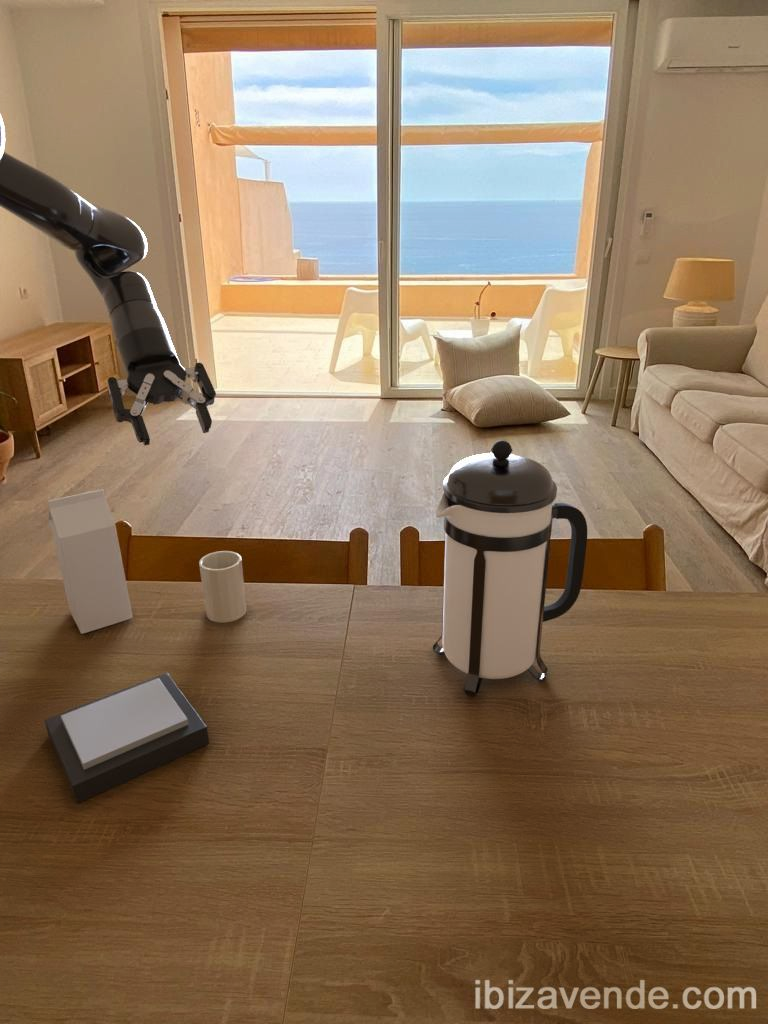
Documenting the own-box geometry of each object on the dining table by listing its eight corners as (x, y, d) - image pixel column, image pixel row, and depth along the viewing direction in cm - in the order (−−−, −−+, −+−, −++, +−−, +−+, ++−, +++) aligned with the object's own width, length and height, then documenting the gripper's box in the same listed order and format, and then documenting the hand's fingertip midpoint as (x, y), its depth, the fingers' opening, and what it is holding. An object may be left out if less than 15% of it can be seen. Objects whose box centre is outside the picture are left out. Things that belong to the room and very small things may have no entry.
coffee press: (533, 719, 79) (557, 475, 67) (410, 677, 87) (411, 449, 74) (575, 643, 93) (602, 428, 81) (466, 612, 100) (475, 410, 88)
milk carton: (133, 619, 100) (110, 497, 92) (81, 635, 96) (53, 510, 88) (119, 598, 105) (97, 481, 97) (70, 612, 101) (42, 492, 94)
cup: (216, 627, 97) (209, 574, 94) (199, 609, 102) (192, 558, 98) (253, 613, 101) (248, 562, 97) (236, 597, 105) (230, 547, 101)
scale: (77, 804, 69) (70, 779, 68) (48, 736, 78) (42, 713, 77) (209, 743, 76) (206, 720, 75) (170, 688, 85) (166, 666, 84)
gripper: (92, 332, 96) (126, 435, 92) (193, 318, 102) (229, 414, 99) (93, 361, 102) (126, 458, 99) (188, 346, 109) (222, 437, 105)
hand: (177, 436), depth 99 cm, fingers open, 8 cm apart
